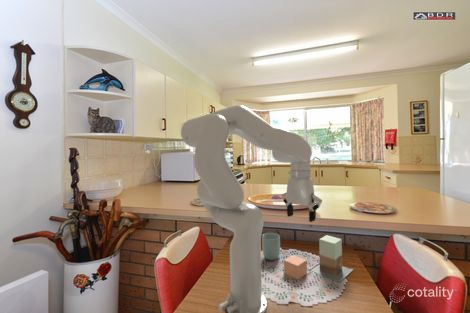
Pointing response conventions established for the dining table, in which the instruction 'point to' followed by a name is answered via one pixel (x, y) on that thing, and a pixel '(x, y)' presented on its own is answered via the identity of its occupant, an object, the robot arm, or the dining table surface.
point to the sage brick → (330, 247)
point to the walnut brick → (331, 265)
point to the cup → (271, 245)
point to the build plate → (338, 277)
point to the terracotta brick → (295, 267)
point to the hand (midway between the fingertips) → (300, 218)
